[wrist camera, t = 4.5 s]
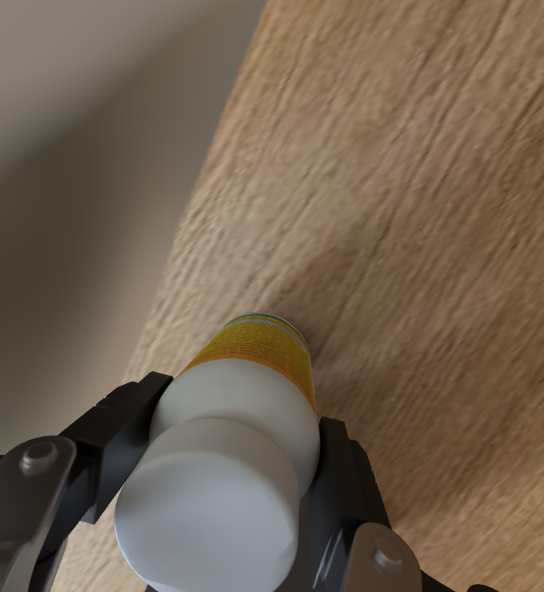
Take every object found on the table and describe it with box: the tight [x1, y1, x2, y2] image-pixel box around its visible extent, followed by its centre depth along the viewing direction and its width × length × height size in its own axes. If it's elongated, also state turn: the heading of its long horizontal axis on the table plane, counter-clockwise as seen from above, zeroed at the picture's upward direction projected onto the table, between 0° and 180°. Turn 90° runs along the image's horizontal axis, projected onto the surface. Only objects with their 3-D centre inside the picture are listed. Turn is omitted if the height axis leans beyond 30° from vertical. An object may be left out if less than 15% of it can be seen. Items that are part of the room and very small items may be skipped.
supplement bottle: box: [114, 312, 320, 592], centre depth 10 cm, size 5×5×10 cm
